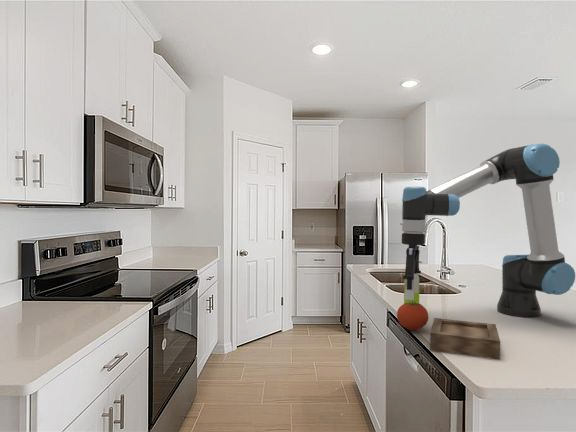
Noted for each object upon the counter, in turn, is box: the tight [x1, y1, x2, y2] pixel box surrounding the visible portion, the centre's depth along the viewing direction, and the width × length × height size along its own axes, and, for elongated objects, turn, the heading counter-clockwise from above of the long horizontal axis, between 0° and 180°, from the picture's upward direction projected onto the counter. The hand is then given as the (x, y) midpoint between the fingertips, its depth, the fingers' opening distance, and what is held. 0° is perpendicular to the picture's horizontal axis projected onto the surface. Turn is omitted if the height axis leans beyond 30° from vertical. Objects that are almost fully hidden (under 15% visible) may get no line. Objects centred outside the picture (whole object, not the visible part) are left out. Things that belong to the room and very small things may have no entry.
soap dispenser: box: [403, 260, 423, 304], centre depth 166 cm, size 6×7×20 cm
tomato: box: [396, 300, 429, 331], centre depth 138 cm, size 10×10×10 cm
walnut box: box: [429, 317, 501, 360], centre depth 123 cm, size 18×18×5 cm
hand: (411, 295), depth 138 cm, fingers open, 13 cm apart
